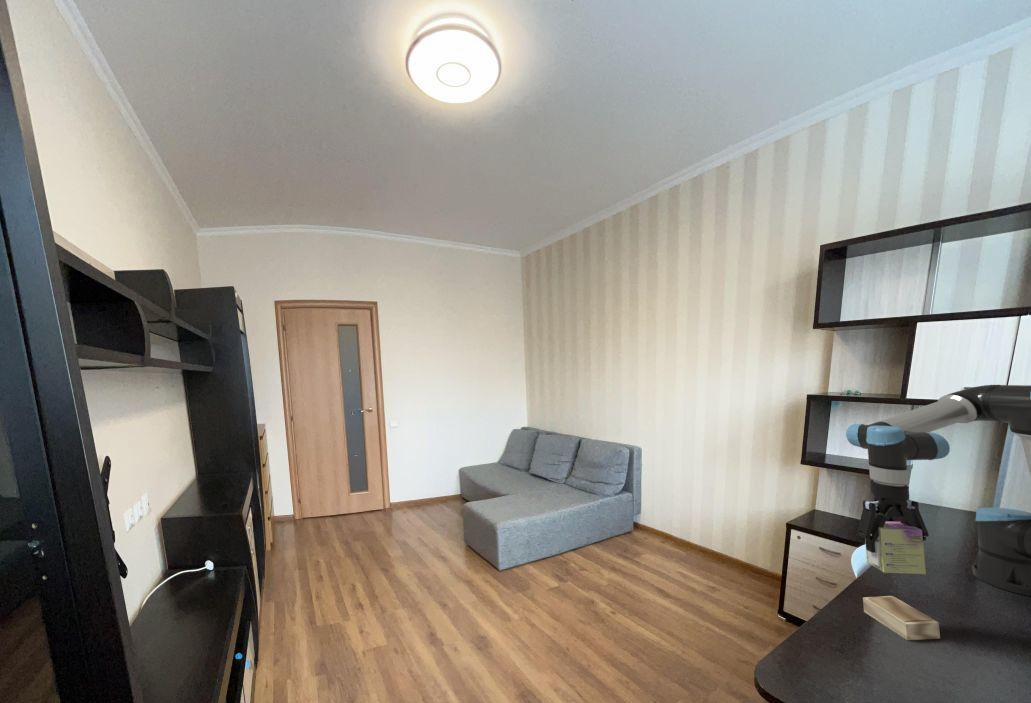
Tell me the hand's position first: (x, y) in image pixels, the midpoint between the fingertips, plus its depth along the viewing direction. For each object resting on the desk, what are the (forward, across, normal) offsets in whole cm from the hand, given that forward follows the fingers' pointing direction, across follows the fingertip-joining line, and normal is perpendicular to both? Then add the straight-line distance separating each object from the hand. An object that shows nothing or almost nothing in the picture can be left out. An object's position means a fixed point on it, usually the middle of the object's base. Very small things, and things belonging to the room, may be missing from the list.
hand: (894, 562), depth 99 cm
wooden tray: (+16, 0, 0) cm, 16 cm away
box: (+2, 0, 0) cm, 2 cm away
